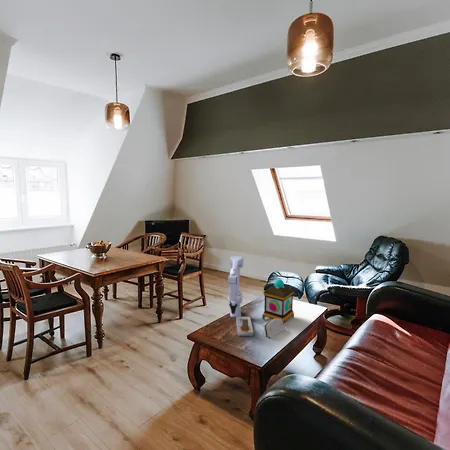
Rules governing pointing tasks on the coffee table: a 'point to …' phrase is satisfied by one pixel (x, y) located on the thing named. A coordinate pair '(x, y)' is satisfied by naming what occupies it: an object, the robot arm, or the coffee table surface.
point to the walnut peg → (244, 324)
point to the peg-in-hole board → (239, 327)
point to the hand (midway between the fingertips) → (232, 311)
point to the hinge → (274, 328)
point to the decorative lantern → (278, 302)
